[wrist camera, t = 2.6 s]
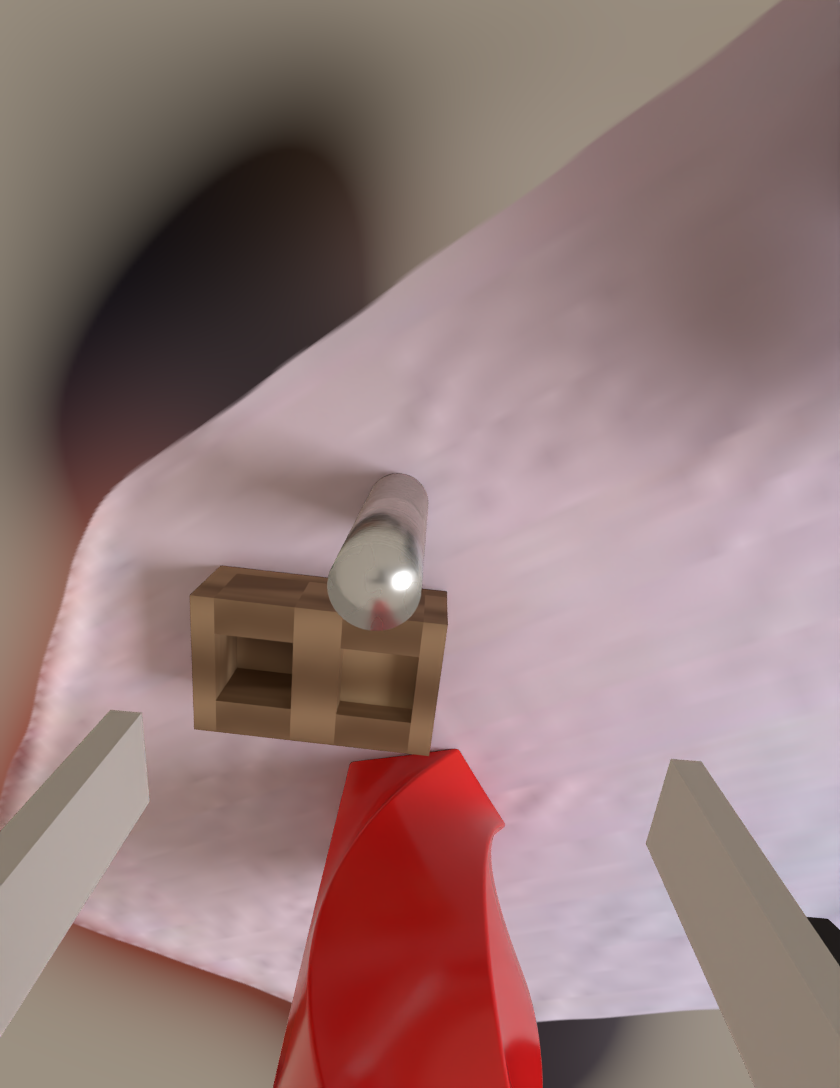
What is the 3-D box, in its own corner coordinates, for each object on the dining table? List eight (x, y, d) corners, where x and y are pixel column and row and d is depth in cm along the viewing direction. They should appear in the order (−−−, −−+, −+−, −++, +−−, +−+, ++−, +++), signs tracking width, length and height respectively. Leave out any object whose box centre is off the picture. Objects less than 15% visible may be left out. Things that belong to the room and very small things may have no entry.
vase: (300, 823, 46) (106, 1469, 19) (390, 703, 41) (301, 1319, 15) (449, 899, 48) (461, 1570, 21) (549, 792, 44) (717, 1465, 17)
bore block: (220, 565, 38) (189, 595, 33) (446, 591, 38) (447, 624, 33) (222, 686, 41) (194, 729, 37) (430, 710, 41) (429, 756, 37)
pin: (371, 470, 35) (329, 538, 22) (431, 477, 35) (426, 550, 22) (366, 527, 37) (324, 625, 24) (424, 534, 37) (416, 635, 24)
